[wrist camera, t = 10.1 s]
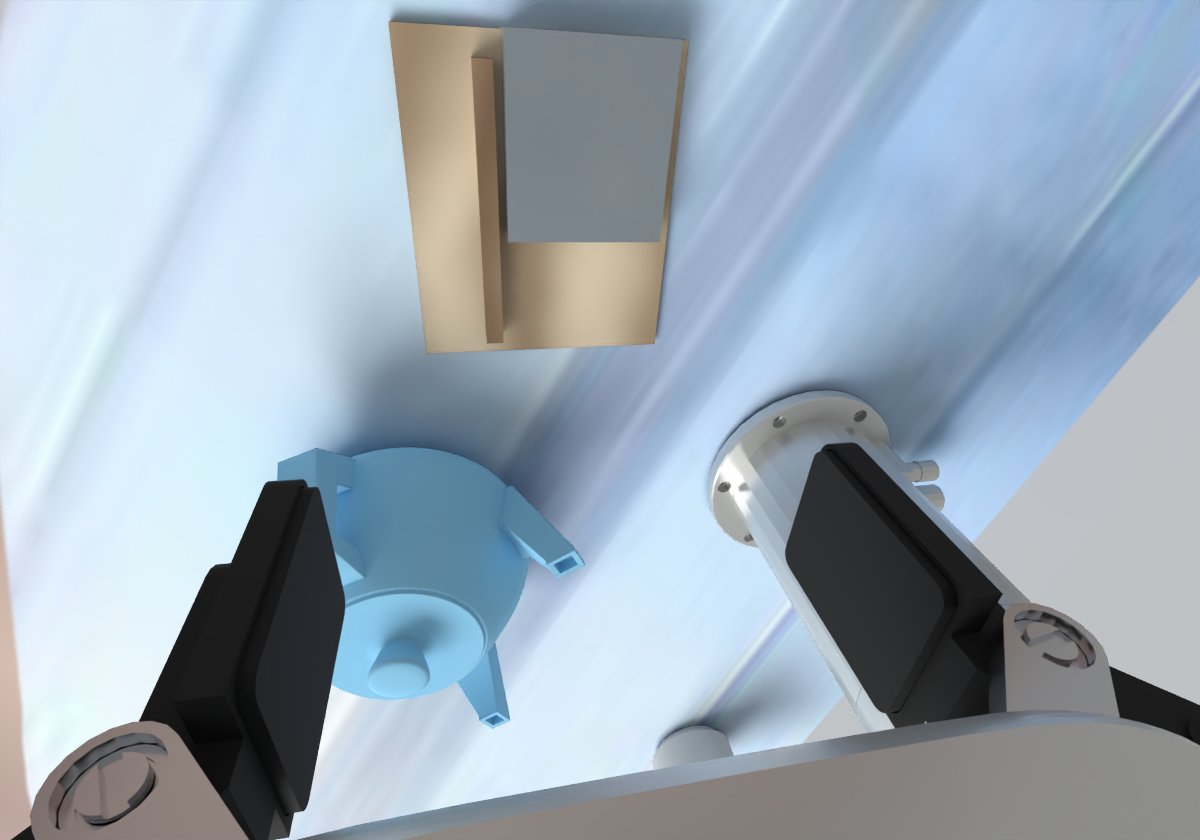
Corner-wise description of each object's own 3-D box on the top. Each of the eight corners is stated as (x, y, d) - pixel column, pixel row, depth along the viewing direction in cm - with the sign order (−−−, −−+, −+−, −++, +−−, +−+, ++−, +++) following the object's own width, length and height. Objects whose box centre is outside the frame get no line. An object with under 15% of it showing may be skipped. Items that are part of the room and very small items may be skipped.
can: (723, 753, 60) (775, 894, 51) (651, 772, 60) (690, 919, 50) (725, 712, 56) (783, 858, 46) (648, 732, 55) (690, 884, 46)
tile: (500, 26, 24) (670, 38, 25) (505, 232, 28) (650, 232, 29) (503, 26, 22) (683, 39, 24) (508, 242, 27) (659, 242, 28)
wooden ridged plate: (685, 40, 25) (698, 40, 24) (652, 340, 33) (660, 353, 32) (389, 21, 23) (385, 21, 22) (426, 350, 31) (425, 364, 29)
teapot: (575, 453, 36) (614, 590, 27) (497, 619, 43) (508, 773, 34) (301, 390, 31) (240, 538, 22) (259, 592, 37) (199, 769, 28)
